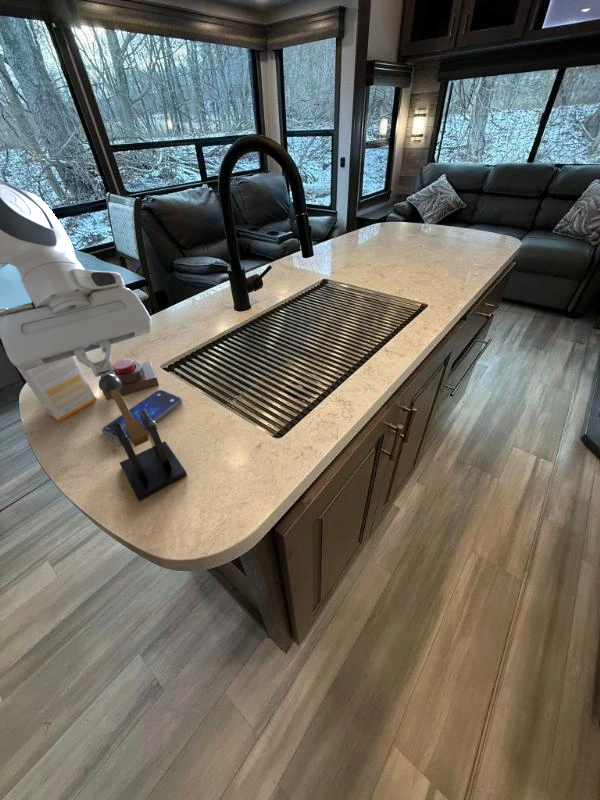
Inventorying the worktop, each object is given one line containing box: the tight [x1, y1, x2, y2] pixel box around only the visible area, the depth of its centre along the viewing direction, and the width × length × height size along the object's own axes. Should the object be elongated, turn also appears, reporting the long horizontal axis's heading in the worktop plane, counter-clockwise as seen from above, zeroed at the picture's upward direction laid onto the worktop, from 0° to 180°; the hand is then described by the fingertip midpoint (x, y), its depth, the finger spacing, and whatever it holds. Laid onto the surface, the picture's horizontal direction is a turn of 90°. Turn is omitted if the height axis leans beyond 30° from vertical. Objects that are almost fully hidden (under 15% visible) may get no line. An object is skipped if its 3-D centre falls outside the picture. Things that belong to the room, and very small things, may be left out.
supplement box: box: [16, 356, 97, 422], centre depth 66 cm, size 8×5×13 cm, turn 148°
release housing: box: [100, 360, 160, 401], centre depth 75 cm, size 11×8×4 cm
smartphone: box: [101, 389, 183, 443], centre depth 67 cm, size 7×1×15 cm
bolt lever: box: [98, 374, 150, 447], centre depth 52 cm, size 13×3×3 cm, turn 38°
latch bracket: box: [112, 411, 188, 502], centre depth 53 cm, size 9×8×11 cm
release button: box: [112, 358, 135, 375], centre depth 74 cm, size 4×4×2 cm
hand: (105, 373), depth 53 cm, fingers closed
